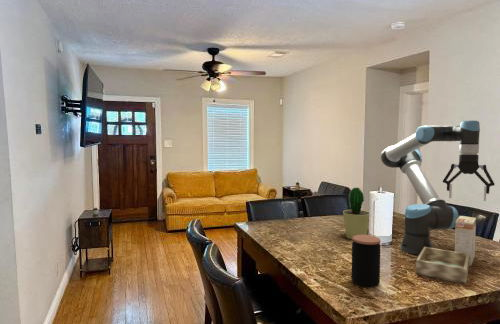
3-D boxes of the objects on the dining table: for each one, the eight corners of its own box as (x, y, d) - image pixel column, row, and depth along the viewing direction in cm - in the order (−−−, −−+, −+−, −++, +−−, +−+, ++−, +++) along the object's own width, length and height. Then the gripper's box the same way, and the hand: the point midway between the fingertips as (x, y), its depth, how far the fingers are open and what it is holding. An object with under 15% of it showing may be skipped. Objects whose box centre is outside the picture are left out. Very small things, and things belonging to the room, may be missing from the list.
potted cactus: (365, 242, 185) (366, 189, 183) (338, 237, 195) (339, 186, 193) (373, 236, 198) (374, 186, 196) (348, 232, 207) (349, 184, 205)
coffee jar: (373, 277, 139) (374, 234, 137) (384, 288, 128) (385, 242, 127) (347, 277, 138) (348, 234, 137) (356, 288, 128) (357, 242, 126)
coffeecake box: (458, 254, 166) (459, 215, 165) (475, 257, 162) (477, 217, 161) (453, 262, 155) (454, 221, 154) (471, 266, 150) (473, 223, 149)
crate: (415, 274, 142) (416, 260, 141) (423, 259, 160) (424, 246, 159) (466, 284, 131) (466, 269, 131) (468, 267, 149) (469, 254, 149)
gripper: (437, 153, 159) (435, 197, 161) (502, 154, 145) (500, 203, 146) (439, 153, 165) (437, 195, 167) (502, 154, 151) (500, 200, 152)
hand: (467, 199), depth 157 cm, fingers open, 13 cm apart
